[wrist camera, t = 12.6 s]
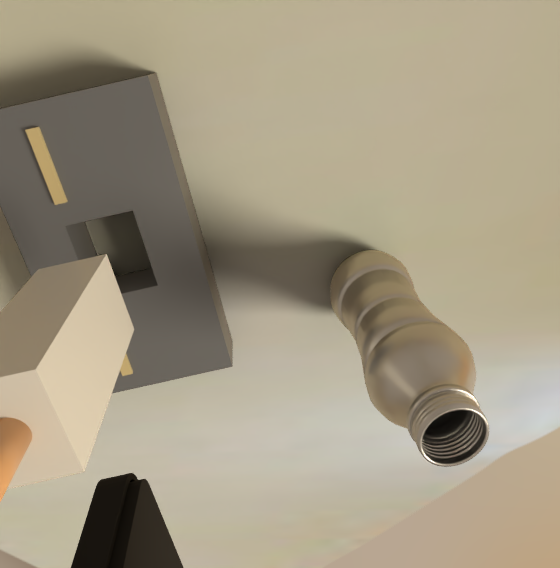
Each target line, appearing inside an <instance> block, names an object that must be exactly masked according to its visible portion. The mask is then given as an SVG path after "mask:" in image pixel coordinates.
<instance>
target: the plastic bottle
mask: <svg viewBox="0 0 560 568" xmlns="http://www.w3.org/2000/svg"><path fill="white" fill-rule="evenodd" d="M330 297H331V305H332V308H333V311H334V312H335V314H336V316H337V317H338V319H339V320H340V321H341V323H342V324H343V325H344V326H345V327H346V328H347V329H348V330H349V331H350V333H351V334H352V336H353V338H354V339H355V341H356V343H357V346H358V349H359V352H360V355H361V359H362V365H363V372H364V378H365V384H366V387H367V391H368V394H369V397H370V400H371V402H372V403H373V405H374V406H375V408H376V409H377V410H378V411H379V412H380V413H381V414H382V415H383V416H385V417H386V418H387V419H388V420H389V421H391V422H392V423H394V424H396V425H399V426H402V427H404V428H407V429H408V431H409V433H410V435H411V437H412V439H413V440H414V441H415V442H416V444H417V446H418V449H419V451H420V452H421V454H422V455H423V457H424V458H425V459H426V460H427V461H429V462H430V463H432V464H435V465H438V466H444V467H447V466H455V465H459V464H462V463H465V462H467V461H469V460H470V459H472V458H473V457H475V456H476V455H477V454H478V453H479V452H480V451H481V450H482V448H483V447H484V446H485V444H486V442H487V440H488V436H489V425H488V422H487V419H486V417H485V415H484V414H483V412H482V411H481V409H480V406H479V404H478V402H477V400H476V398H475V397H474V395H473V391H474V386H475V382H476V369H475V364H474V360H473V356H472V353H471V351H470V349H469V347H468V345H467V344H466V343H465V342H464V340H463V339H462V338H461V337H460V336H459V335H458V334H457V333H456V332H455V331H453V330H452V329H451V328H449V327H448V326H447V325H445V324H444V323H443V322H442V321H440V320H439V319H438V318H436V317H435V316H434V315H433V314H432V313H431V312H430V311H429V310H428V309H427V308H426V307H425V306H424V304H423V303H422V302H421V301H420V299H419V297H418V295H417V293H416V292H415V289H414V286H413V282H412V279H411V277H410V275H409V273H408V271H407V269H406V267H405V266H404V265H403V264H402V263H401V262H400V261H399V260H397V259H396V258H394V257H393V256H391V255H389V254H387V253H385V252H382V251H377V250H366V251H361V252H358V253H356V254H353V255H352V256H350V257H348V258H347V259H346V260H345V261H343V262H342V263H341V264H340V266H339V267H338V268H337V269H336V271H335V273H334V275H333V278H332V281H331V288H330Z"/></svg>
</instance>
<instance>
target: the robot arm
mask: <svg viewBox="0 0 560 568" xmlns="http://www.w3.org/2000/svg"><path fill="white" fill-rule="evenodd" d="M71 568H183V566H182V563H181V561H180V558H179V556H178V553H177V551H176V549H175V546H174V544H173V541H172V539H171V536H170V534H169V532H168V529H167V527H166V524H165V522H164V519H163V517H162V515H161V512H160V510H159V507H158V505H157V502H156V500H155V498H154V495H153V493H152V490H151V488H150V485H149V483H148V481H147V480H146V479H141V480H138V479H137V477H136V476H135V475H134V474H133V473H129V474H125V475H120V476H116V477H111V478H106V479H102V480H100V481H99V482H98V484H97V486H96V489H95V492H94V495H93V498H92V502H91V505H90V508H89V511H88V515H87V518H86V521H85V524H84V527H83V531H82V534H81V537H80V540H79V543H78V547H77V550H76V553H75V556H74V559H73V563H72V566H71Z"/></svg>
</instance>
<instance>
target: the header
mask: <svg viewBox="0 0 560 568" xmlns="http://www.w3.org/2000/svg"><path fill="white" fill-rule="evenodd" d="M0 206H1V209H2V211H3V213H4V215H5V218H6V220H7V222H8V225H9V227H10V229H11V231H12V234H13V236H14V238H15V241H16V243H17V245H18V247H19V250H20V252H21V254H22V256H23V259H24V261H25V263H26V266H27V268H28V270H29V272H30V275H31V277H32V276H33V275H34V273H35V272H36V271H37V270H38V269H42V268H46V267H51V266H55V265H60V264H64V263H69V262H73V261H77V260H82V259H86V258H91V257H95V256H97V254H96V251H95V248H94V246H93V243H92V240H91V238H90V235H89V232H88V230H87V227H86V224H85V221H89V220H93V219H98V218H102V217H107V216H111V215H116V214H120V213H124V212H129V211H133V213H134V216H135V219H136V222H137V225H138V228H139V231H140V234H141V237H142V240H143V243H144V246H145V249H146V252H147V255H148V258H149V261H150V264H151V267H152V268H150V269H146V270H142V271H137V272H133V273H128V274H124V275H119V276H115V278H116V281H117V284H118V286H119V289H120V292H121V294H122V297H123V300H124V303H125V305H126V308H127V311H128V313H129V316H130V319H131V322H132V324H133V327H134V332H133V334H132V337H131V340H130V343H129V346H128V349H127V352H126V354H125V357H124V360H123V363H122V366H121V369H120V372H119V374H118V377H117V380H116V383H115V386H114V389H113V392H112V393H116V392H120V391H125V390H129V389H134V388H138V387H143V386H147V385H152V384H156V383H160V382H165V381H169V380H174V379H178V378H183V377H187V376H192V375H196V374H201V373H205V372H210V371H214V370H219V369H223V368H228V367H232V338H231V334H230V331H229V327H228V324H227V320H226V317H225V313H224V310H223V306H222V303H221V299H220V296H219V292H218V289H217V285H216V282H215V278H214V275H213V271H212V267H211V264H210V260H209V257H208V253H207V250H206V246H205V243H204V239H203V236H202V232H201V229H200V225H199V222H198V218H197V215H196V211H195V208H194V204H193V200H192V197H191V193H190V190H189V186H188V183H187V179H186V176H185V172H184V169H183V165H182V162H181V158H180V155H179V151H178V148H177V144H176V141H175V137H174V133H173V130H172V126H171V123H170V119H169V116H168V112H167V109H166V105H165V102H164V98H163V95H162V91H161V88H160V84H159V81H158V77H157V74H156V73H153V74H148V75H144V76H140V77H135V78H131V79H126V80H122V81H118V82H113V83H109V84H105V85H100V86H96V87H92V88H87V89H83V90H78V91H74V92H70V93H65V94H61V95H57V96H52V97H48V98H43V99H39V100H35V101H30V102H26V103H22V104H17V105H13V106H9V107H4V108H0Z"/></svg>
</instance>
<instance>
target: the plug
mask: <svg viewBox="0 0 560 568" xmlns="http://www.w3.org/2000/svg"><path fill="white" fill-rule="evenodd" d="M133 332H134V327H133V324H132V322H131V319H130V316H129V313H128V311H127V308H126V305H125V303H124V300H123V297H122V294H121V292H120V289H119V286H118V284H117V281H116V278H115V275H114V273H113V270H112V267H111V265H110V262H109V259H108V256H107V254H104V255H100V256H95V257H91V258H86V259H82V260H77V261H73V262H69V263H64V264H60V265H55V266H51V267H46V268H42V269H38V270H37V271H36V272H35V273H34V275H33V276H32V277H31V278H30V279H29V280H28V281H27V283H26V284H25V285H24V286H23V287H22V288H21V289H20V290H19V292H18V293H17V294H16V295H15V296H14V297H13V298H12V300H11V301H10V302H9V303H8V304H7V305H6V306H5V308H4V309H3V310H2V311H1V312H0V501H1V500H2V498H3V496H4V494H5V492H6V490H7V489H10V488H15V487H19V486H24V485H28V484H33V483H38V482H42V481H47V480H51V479H56V478H60V477H65V476H69V475H74V474H78V473H83V472H84V471H85V469H86V466H87V463H88V460H89V457H90V454H91V451H92V449H93V446H94V443H95V440H96V437H97V434H98V432H99V429H100V426H101V423H102V420H103V417H104V414H105V412H106V409H107V406H108V403H109V400H110V397H111V394H112V392H113V389H114V386H115V383H116V380H117V377H118V374H119V372H120V369H121V366H122V363H123V360H124V357H125V354H126V352H127V349H128V346H129V343H130V340H131V337H132V334H133Z"/></svg>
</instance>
